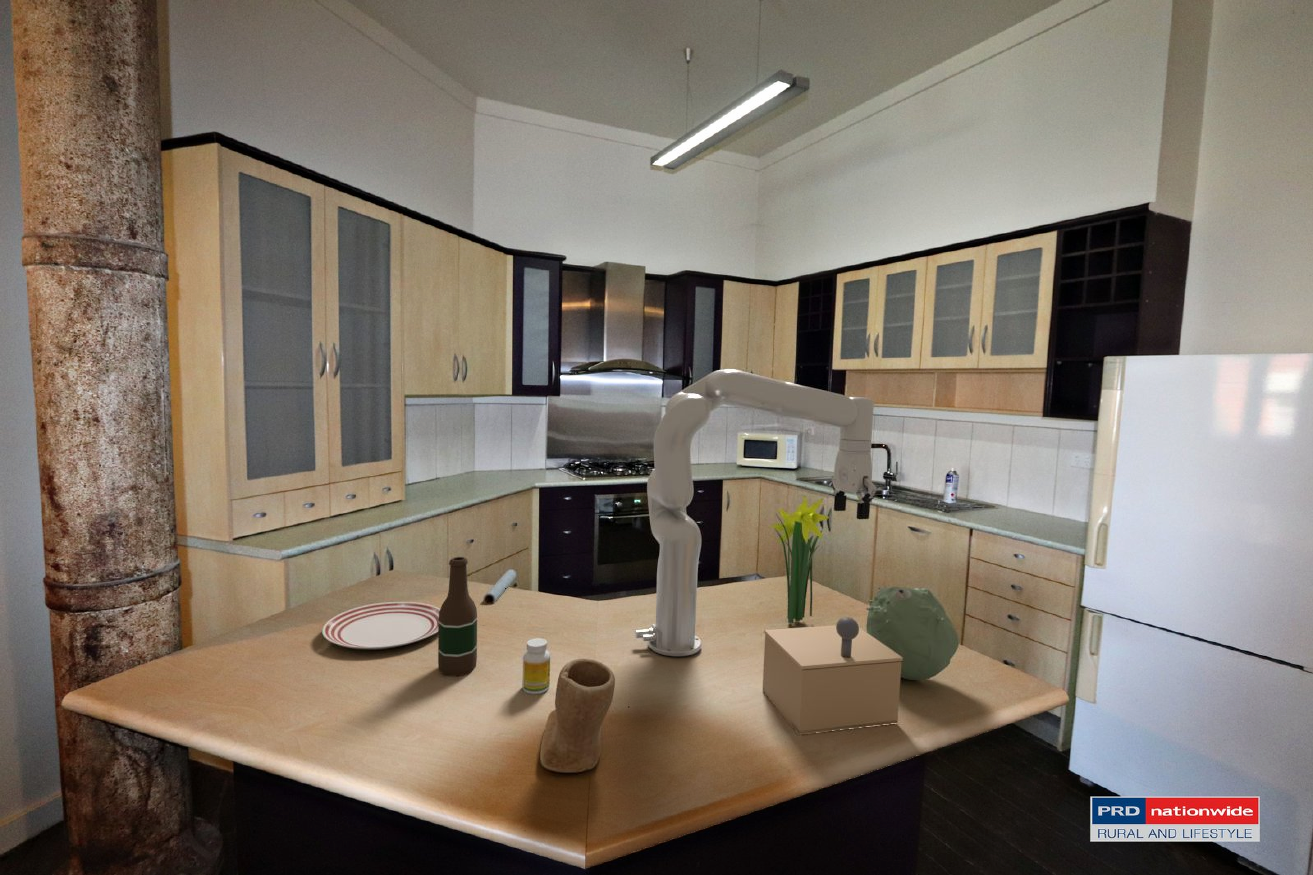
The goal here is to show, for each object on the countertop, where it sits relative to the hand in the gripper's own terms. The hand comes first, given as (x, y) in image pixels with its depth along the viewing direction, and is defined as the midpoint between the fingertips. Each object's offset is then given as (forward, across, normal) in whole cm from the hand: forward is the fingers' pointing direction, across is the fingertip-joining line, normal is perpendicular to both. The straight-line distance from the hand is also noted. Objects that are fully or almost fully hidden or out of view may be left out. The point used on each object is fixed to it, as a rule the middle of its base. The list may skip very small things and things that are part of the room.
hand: (850, 514), depth 149 cm
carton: (+31, +30, -24) cm, 49 cm away
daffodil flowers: (+31, -12, -7) cm, 34 cm away
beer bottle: (+31, -1, -93) cm, 98 cm away
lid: (+19, +22, -23) cm, 37 cm away
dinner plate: (+32, -24, -110) cm, 117 cm away
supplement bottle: (+31, +11, -78) cm, 85 cm away
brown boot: (+31, +33, -73) cm, 86 cm away
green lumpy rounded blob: (+31, +23, +1) cm, 39 cm away
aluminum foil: (+32, -49, -82) cm, 101 cm away
